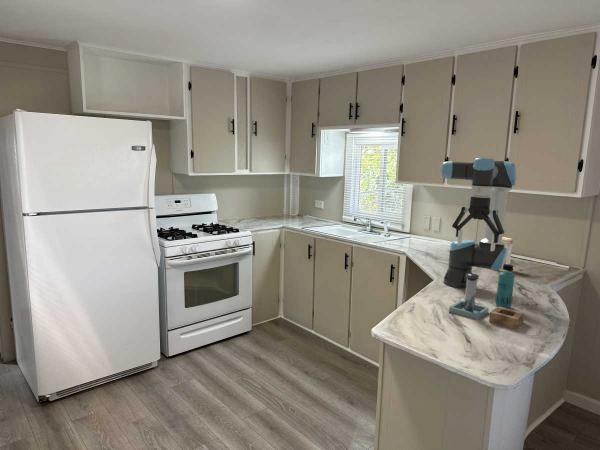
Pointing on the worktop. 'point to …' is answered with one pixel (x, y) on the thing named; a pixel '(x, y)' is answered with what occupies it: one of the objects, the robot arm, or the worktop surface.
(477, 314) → the tray
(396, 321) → the worktop surface
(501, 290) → the beverage bottle
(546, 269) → the worktop surface
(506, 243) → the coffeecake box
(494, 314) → the socket block
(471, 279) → the steel pin
